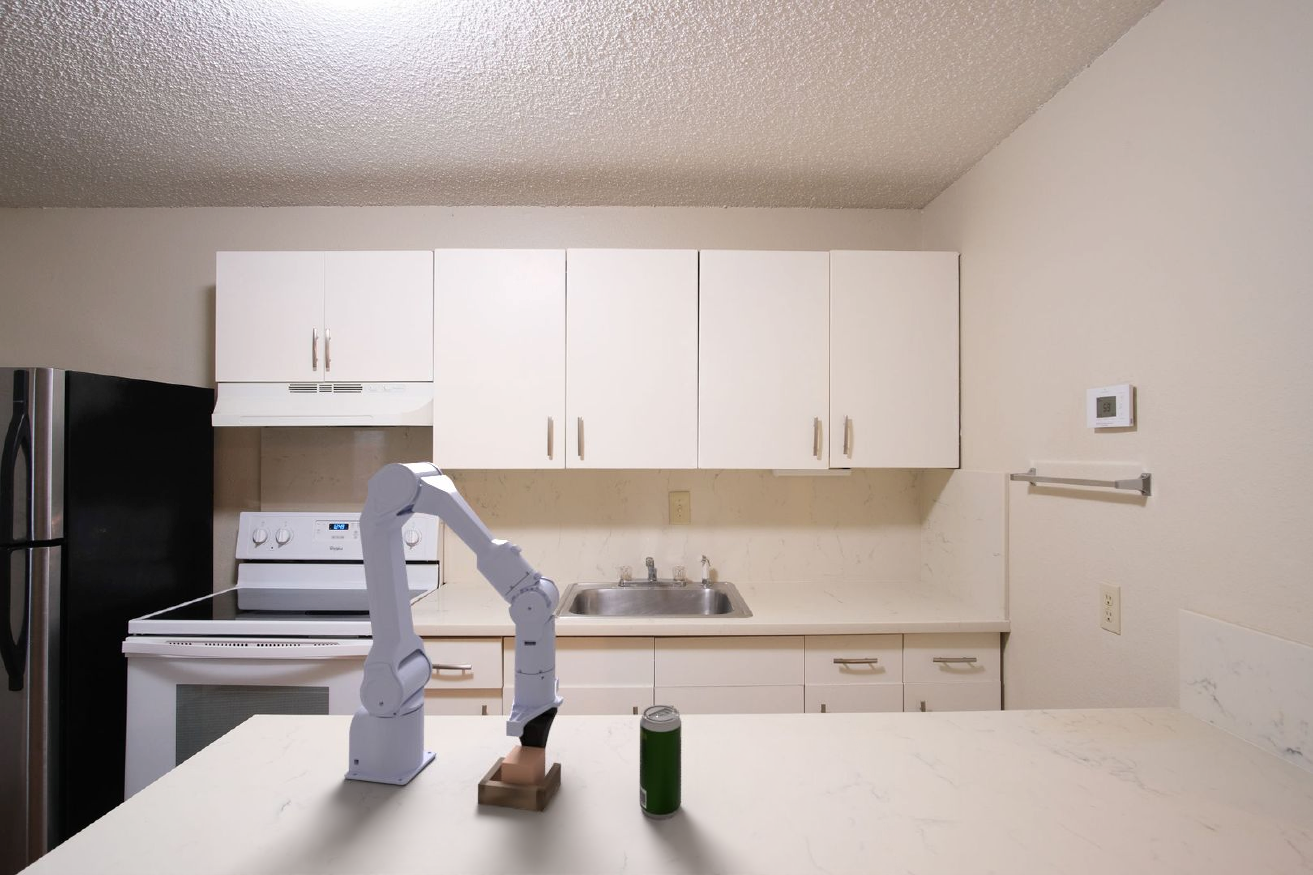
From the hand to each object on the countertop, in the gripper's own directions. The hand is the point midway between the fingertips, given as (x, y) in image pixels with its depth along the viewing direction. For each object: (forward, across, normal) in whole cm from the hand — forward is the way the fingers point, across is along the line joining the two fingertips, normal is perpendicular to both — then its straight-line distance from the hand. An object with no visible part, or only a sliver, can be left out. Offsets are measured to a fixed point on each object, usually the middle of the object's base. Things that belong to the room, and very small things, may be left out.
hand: (534, 762), depth 80 cm
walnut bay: (+1, -5, 0) cm, 5 cm away
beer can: (+2, -4, -19) cm, 20 cm away
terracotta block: (+1, -4, 0) cm, 4 cm away
